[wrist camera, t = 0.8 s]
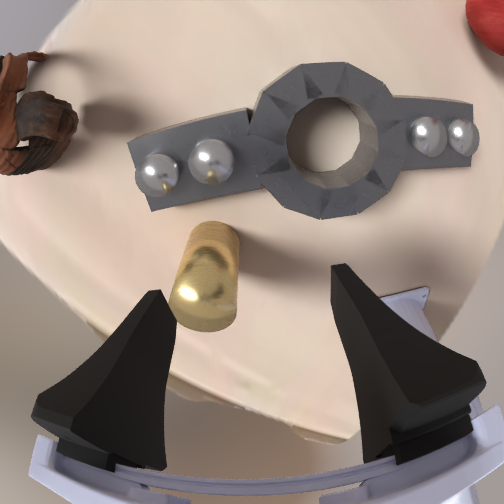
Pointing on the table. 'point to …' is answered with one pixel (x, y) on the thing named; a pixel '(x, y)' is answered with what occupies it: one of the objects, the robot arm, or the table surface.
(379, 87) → the studded flange bracket
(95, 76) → the table surface
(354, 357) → the robot arm
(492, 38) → the onion
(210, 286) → the pin
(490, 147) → the table surface
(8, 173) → the rusty ring shackle
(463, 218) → the table surface
